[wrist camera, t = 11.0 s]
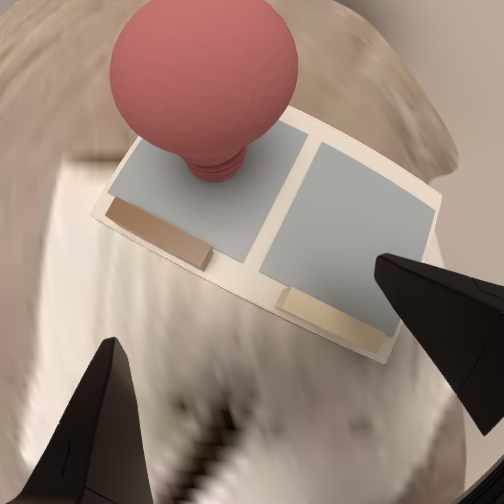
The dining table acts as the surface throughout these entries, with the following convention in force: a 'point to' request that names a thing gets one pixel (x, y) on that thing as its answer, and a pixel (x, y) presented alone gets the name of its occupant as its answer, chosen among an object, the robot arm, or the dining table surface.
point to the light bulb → (204, 78)
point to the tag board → (284, 225)
